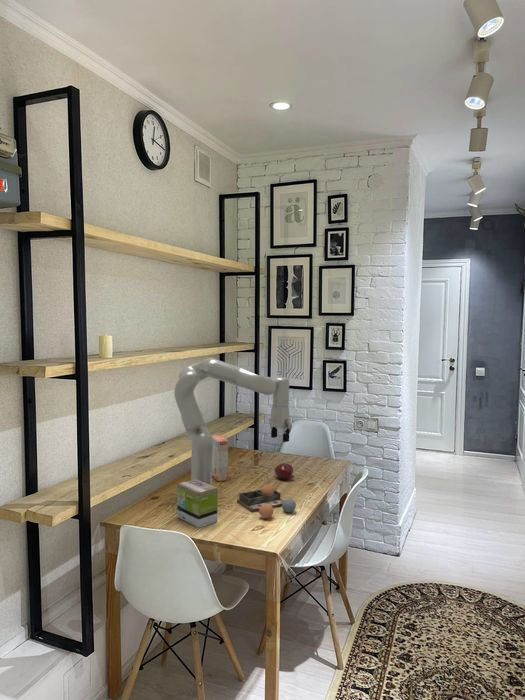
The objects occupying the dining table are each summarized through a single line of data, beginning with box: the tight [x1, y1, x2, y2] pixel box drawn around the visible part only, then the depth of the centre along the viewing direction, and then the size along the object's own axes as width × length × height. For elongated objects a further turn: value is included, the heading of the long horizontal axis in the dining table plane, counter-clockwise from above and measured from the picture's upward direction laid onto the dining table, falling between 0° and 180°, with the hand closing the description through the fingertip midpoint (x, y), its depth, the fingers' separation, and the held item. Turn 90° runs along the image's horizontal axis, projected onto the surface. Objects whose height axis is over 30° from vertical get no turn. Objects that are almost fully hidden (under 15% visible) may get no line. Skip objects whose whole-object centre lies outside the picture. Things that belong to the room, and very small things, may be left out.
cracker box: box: [211, 434, 229, 482], centre depth 274 cm, size 14×6×21 cm, turn 22°
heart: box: [273, 462, 294, 481], centre depth 275 cm, size 12×8×10 cm
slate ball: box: [281, 497, 297, 514], centre depth 227 cm, size 6×6×6 cm
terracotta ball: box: [258, 504, 274, 519], centre depth 220 cm, size 6×6×6 cm
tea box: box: [176, 479, 218, 529], centre depth 217 cm, size 15×10×15 cm
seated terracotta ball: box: [260, 484, 275, 496], centre depth 240 cm, size 6×6×6 cm
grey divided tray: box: [236, 489, 285, 514], centre depth 237 cm, size 18×14×4 cm
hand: (279, 439), depth 249 cm, fingers open, 9 cm apart
